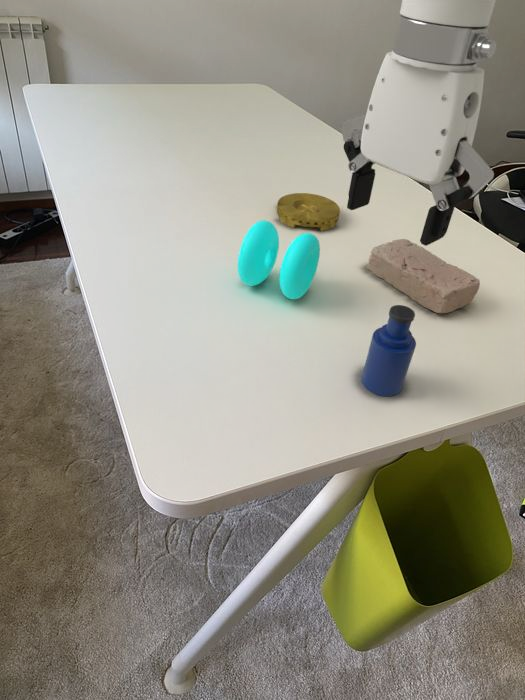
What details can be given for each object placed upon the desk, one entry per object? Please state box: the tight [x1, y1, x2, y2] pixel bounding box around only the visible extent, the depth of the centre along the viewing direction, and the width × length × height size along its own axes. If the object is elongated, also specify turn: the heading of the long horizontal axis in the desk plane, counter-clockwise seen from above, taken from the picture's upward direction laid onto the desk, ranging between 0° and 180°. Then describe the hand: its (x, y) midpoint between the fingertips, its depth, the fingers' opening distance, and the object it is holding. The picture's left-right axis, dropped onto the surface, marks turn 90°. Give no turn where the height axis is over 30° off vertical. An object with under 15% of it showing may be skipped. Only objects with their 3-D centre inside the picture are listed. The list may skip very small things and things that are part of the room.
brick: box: [366, 238, 481, 314], centre depth 88 cm, size 17×8×5 cm, turn 35°
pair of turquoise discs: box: [237, 220, 321, 300], centre depth 82 cm, size 10×10×10 cm
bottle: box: [361, 304, 417, 397], centre depth 67 cm, size 5×5×11 cm
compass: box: [276, 192, 341, 232], centre depth 106 cm, size 12×12×2 cm
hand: (392, 223), depth 59 cm, fingers open, 9 cm apart
